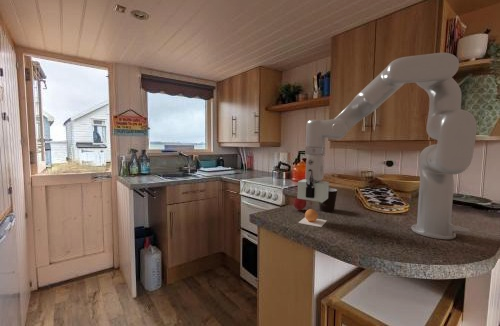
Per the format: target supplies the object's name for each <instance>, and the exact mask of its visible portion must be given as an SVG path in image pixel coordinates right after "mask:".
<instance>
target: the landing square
mask: <svg viewBox="0 0 500 326" xmlns="http://www.w3.org/2000/svg"><path fill="white" fill-rule="evenodd" d="M327 221H328V220H326V219H322V218H321V219H320V218H317V220H315V221H313V222H310V221H308V220H307V219H306V217H305V216H304V217H303V218H302V219H301V220H299V221H298V222H297V223H298V224H300V225H301V224H302V225H307V226H312V227H317V228H322V227H323V226H324V225H325V224H326V223H327Z"/></svg>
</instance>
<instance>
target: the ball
mask: <svg viewBox="0 0 500 326" xmlns="http://www.w3.org/2000/svg"><path fill="white" fill-rule="evenodd" d="M305 217H306V219H307V220H308V221H310V222H313V221H315V220H317V219H319V213H318V211H316V210H315V209H314V208H309V209H307V210H306V211H305V213H304V218H305Z"/></svg>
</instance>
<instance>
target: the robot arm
mask: <svg viewBox="0 0 500 326" xmlns="http://www.w3.org/2000/svg"><path fill="white" fill-rule="evenodd" d="M459 67H460V61H459V58H458V57H457V56H456V55H454V54H452V53H449V52H435V53H427V54H419V55H418V54H417V55H409V56H402V57H397V58H396V59H394V60H392V61H391V62H389V64H388V65H387V66H386V67H385V68H384V69H383V70H381V72H380V73H379V74H378V75H377V76H376V77H374V79H373V80H371V82H369V83H368V84H367V85H366V86H365V87H364V88H363V89H361V90H360V92H358V93H357V95H356V96H354V98H353V99H352V100H351V101H350V103H349V104H348V105H346V107H345V108H344V109H343V110H342V111H340V113H339V114H338V115H337V116H336V117H334V118H332V119H310V120H307V121H306V125H305V147H304V149H305V150H304V155H305V156H306V161H305V173H304V175H305V178H304V179H306V197H307V198H314V193H315V188H314V183H315V180H316V181H317V182H318V181H323V179H324V177H325V176H324V172H325V171H324V167H325V164H324V163H325V161H324V157H325V155H326V140H327V139H332V140H339V139H342V138H344V137H345V136H346V135H347V133H348V132H349V131H350V130H351V129H352V128H353V127H355V125H356V124H358V123H359V122H361V120H363V119H365V118H366V117H367V116H370V114H372V113H373V112H375V110H377V109H378V108H379V107H380V106H382V104H384V102H386V101H387V100H388V99H389V98H390V97H391V96H393V94H395V93H396V92H397V91H398V90H399V89H400V88H402V87H403V86H404V85H405V84H411V83H413V84H414V83H415V84H416V85H417V86H418V87H419V88H421V89H423V90H424V91H425V92H426V93H427V95H428V97H429V105H428V106H429V107H428V108H429V109H428V115H427V121H426V134H427V135H428V137H430V139H434V140H437V143H436V144H431V145H428V146H426V147H425V148H423V150H422V151H421V152H420V154H419V157H418V166H419V188H418V202H417V214H416V215H417V216H416V217H417V220H416V223H414V224H412V225H411V231H413V232H414V233H416V234H418V235H419V236H420V235H421V236H424V237H427V238H433V239H437V240H453V239H455V238H457V237H456V236H457V235H456V234H457V233H460V234H466V235H469V233H470V230H469V229H470V228H468V227H463V226H461V225H454V224H453V222H452V212H453V211H452V210H453V202H454V201H453V200H454V188H455V180H454V175H459V174H462V173H463V172H465V171H466V170H467V169H469V167H470V166H471V164H472V161H473V157H474V152H475V151H474V150H475V143H476V137H477V136H476V135H477V129H478V127H477V125H478V124H477V121H476V118H475V116H474V115H473V114H472V113H471V112H469V111H468V110H465V109H461V108H462V90H461V87H460V86H459V83H458V82H457V81H456V80H455V79H454V78H453V77H454V76H455V75H456V74H457V73H458V71H459Z"/></svg>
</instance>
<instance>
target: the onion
mask: <svg viewBox="0 0 500 326" xmlns="http://www.w3.org/2000/svg"><path fill="white" fill-rule="evenodd" d="M292 203H293V206H294V208H295V209H296V210H298V211H302V210H303V209H305V208H306V205H307V200H305V199H298V198H297V196H295V198H294V199H293V202H292Z"/></svg>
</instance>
